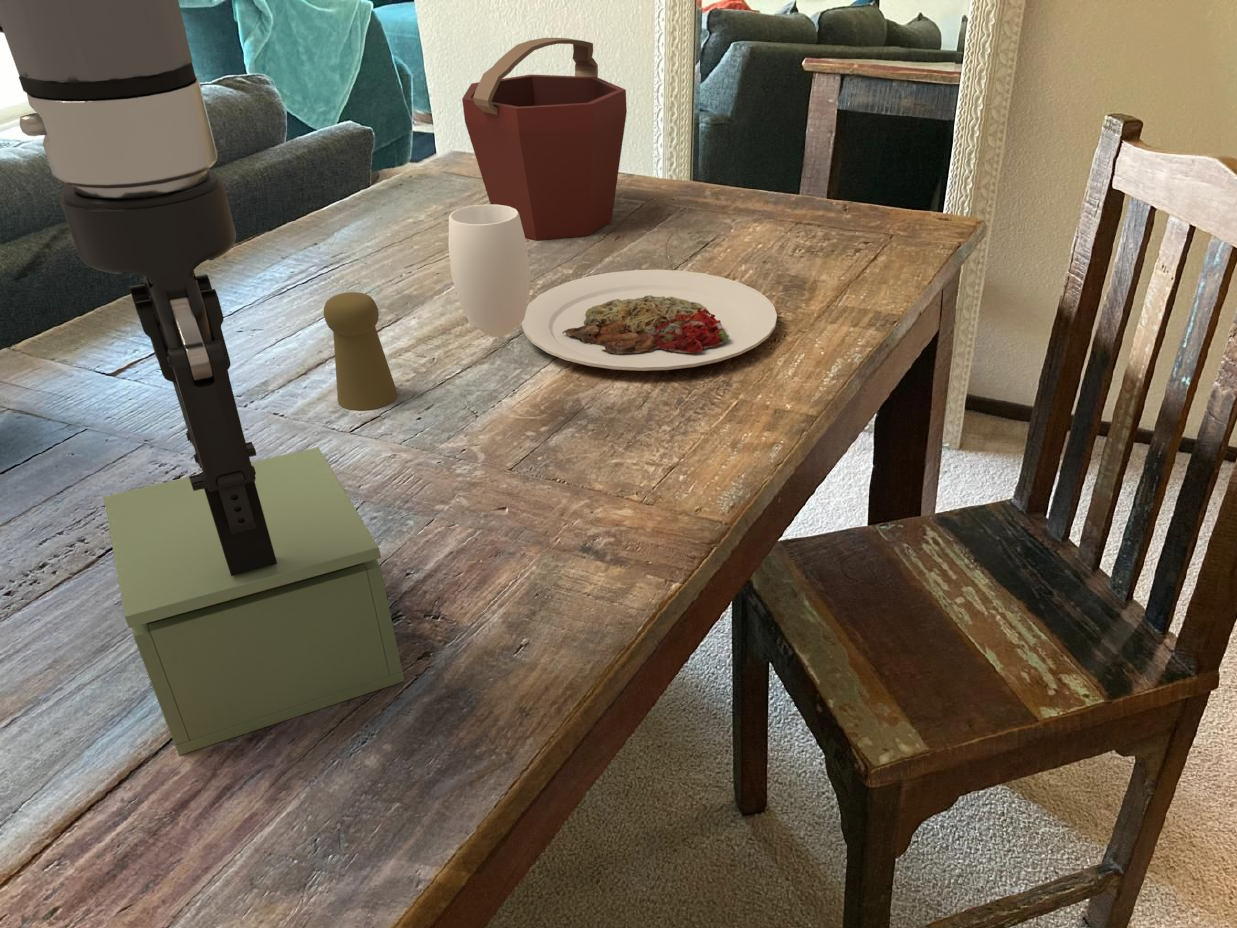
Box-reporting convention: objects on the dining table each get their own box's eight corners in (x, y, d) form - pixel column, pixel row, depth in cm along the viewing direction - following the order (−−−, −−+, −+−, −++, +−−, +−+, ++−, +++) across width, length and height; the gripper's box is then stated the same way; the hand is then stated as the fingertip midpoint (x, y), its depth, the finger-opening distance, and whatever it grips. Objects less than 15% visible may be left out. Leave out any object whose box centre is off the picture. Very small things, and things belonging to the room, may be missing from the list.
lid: (381, 558, 70) (378, 547, 70) (128, 628, 64) (124, 616, 64) (320, 456, 84) (318, 446, 83) (107, 506, 77) (103, 496, 77)
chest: (404, 681, 77) (380, 566, 72) (178, 755, 71) (133, 636, 65) (345, 563, 89) (320, 457, 84) (147, 618, 83) (107, 507, 77)
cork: (375, 414, 111) (354, 311, 105) (325, 404, 113) (302, 303, 107) (409, 389, 116) (391, 290, 110) (361, 381, 118) (341, 282, 111)
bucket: (580, 191, 177) (568, 21, 163) (667, 223, 163) (663, 41, 150) (446, 222, 163) (421, 40, 149) (530, 259, 150) (510, 63, 136)
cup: (545, 433, 108) (524, 225, 96) (470, 439, 107) (440, 228, 95) (544, 401, 114) (524, 201, 102) (473, 406, 113) (445, 204, 101)
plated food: (570, 275, 145) (568, 250, 143) (794, 294, 140) (795, 268, 138) (482, 369, 120) (479, 340, 118) (750, 395, 115) (750, 366, 113)
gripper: (48, 156, 58) (172, 530, 71) (63, 222, 48) (204, 639, 62) (199, 139, 61) (292, 500, 74) (241, 198, 52) (339, 600, 65)
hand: (252, 563), depth 68 cm, fingers closed
